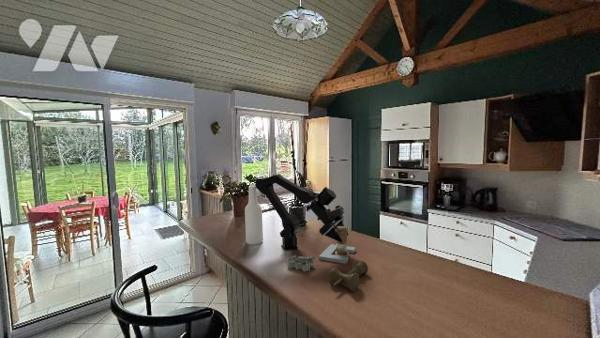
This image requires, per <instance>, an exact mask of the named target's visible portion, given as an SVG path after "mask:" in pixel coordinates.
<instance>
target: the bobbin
mask: <svg viewBox="0 0 600 338" xmlns="http://www.w3.org/2000/svg"><path fill="white" fill-rule="evenodd" d="M336 232H337V233H338V234H339V236H340V237H341V239H342V240H343V241H342V242H339V241H337V240H336V243H335V245H336V248H337V251H336V252H335V253H334V255H338V256H345V257H348V258H349V257H350V253H349V252H348V251H347V250H348V249H347V246H348V236H347V232H348V227H347V226H345V225H344V226H338V227H336Z"/></svg>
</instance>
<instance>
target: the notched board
mask: <svg viewBox="0 0 600 338" xmlns="http://www.w3.org/2000/svg"><path fill="white" fill-rule="evenodd" d="M347 249H348V250H347V251H348V252H349V254H355V252H356V247H355V246H349V245H347ZM336 251H337V248H336V244H334V243H333V244H332V243H331V244H329V246H328V247H326V249H325V250H323V252H322V253H321V254H319V256H318V259H319V260H320V261H326V262H333V263H338V264H344V265H345V264H348V262H349V257H345V256H338V255H335V252H336Z"/></svg>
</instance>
